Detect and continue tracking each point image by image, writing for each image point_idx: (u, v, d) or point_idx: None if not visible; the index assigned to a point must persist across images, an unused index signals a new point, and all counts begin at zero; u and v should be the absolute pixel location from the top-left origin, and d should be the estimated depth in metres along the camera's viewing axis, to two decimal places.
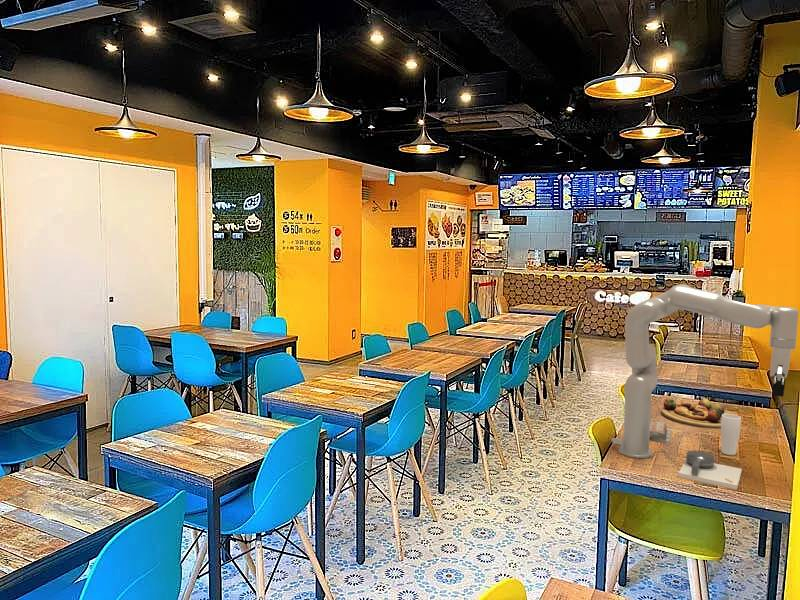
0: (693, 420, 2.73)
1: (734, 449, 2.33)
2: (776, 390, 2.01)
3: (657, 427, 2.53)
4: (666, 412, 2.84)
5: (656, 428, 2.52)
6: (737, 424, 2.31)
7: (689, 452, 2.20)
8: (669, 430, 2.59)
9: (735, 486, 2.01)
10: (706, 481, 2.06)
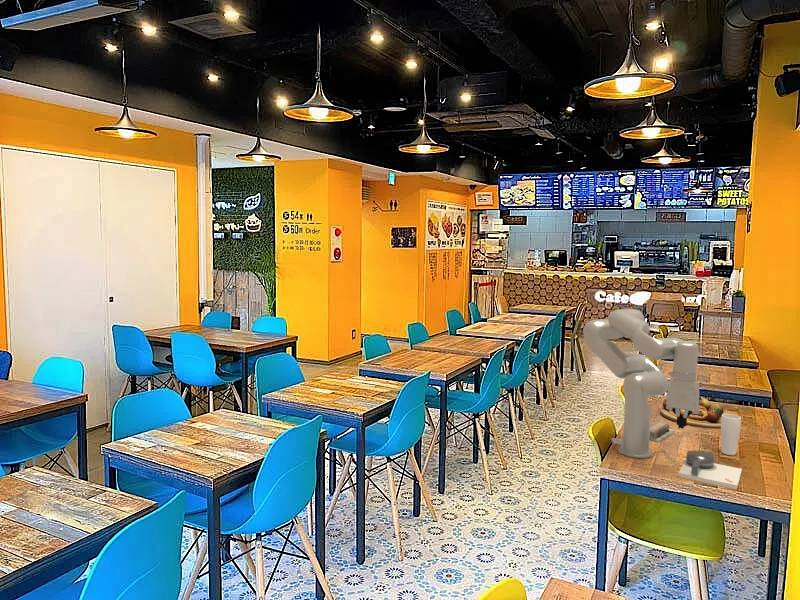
0: (692, 420, 2.73)
1: (734, 449, 2.33)
2: (685, 423, 2.12)
3: (653, 426, 2.54)
4: (665, 412, 2.84)
5: (651, 427, 2.53)
6: (737, 424, 2.31)
7: (689, 452, 2.20)
8: (671, 431, 2.58)
9: (735, 486, 2.01)
10: (706, 481, 2.06)
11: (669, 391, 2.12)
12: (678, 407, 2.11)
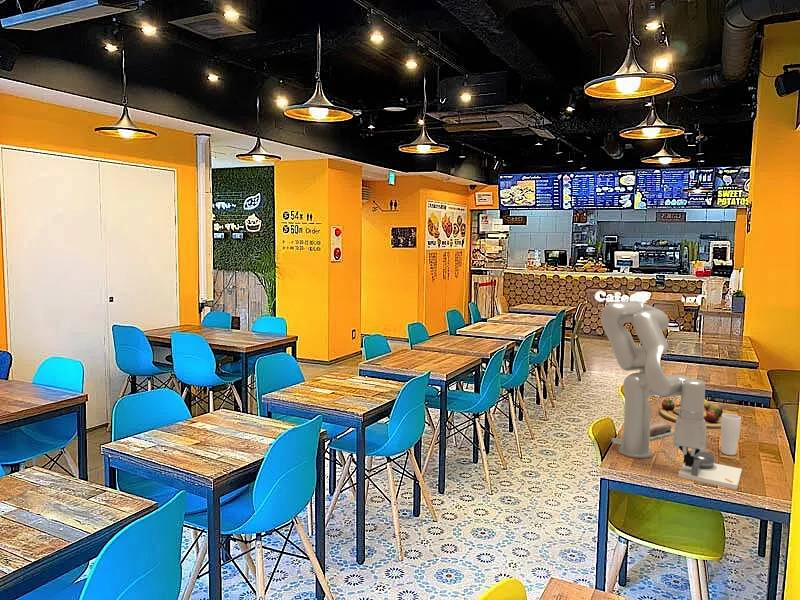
0: None
1: (734, 449, 2.33)
2: (693, 461, 2.12)
3: (651, 425, 2.55)
4: (664, 412, 2.83)
5: None
6: (737, 424, 2.31)
7: (689, 452, 2.20)
8: (672, 432, 2.56)
9: (735, 486, 2.01)
10: (706, 481, 2.06)
11: (676, 429, 2.12)
12: (685, 445, 2.11)
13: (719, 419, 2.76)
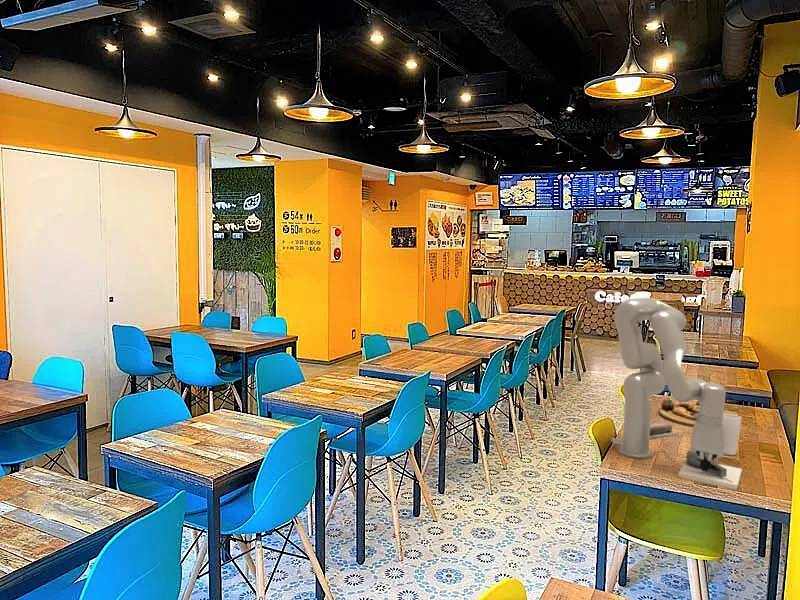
0: (691, 420, 2.72)
1: (734, 449, 2.33)
2: (709, 466, 2.09)
3: None
4: (664, 412, 2.83)
5: None
6: (737, 424, 2.31)
7: (691, 455, 2.18)
8: (672, 433, 2.56)
9: (735, 486, 2.01)
10: (706, 481, 2.06)
11: (694, 433, 2.09)
12: (703, 450, 2.08)
13: None
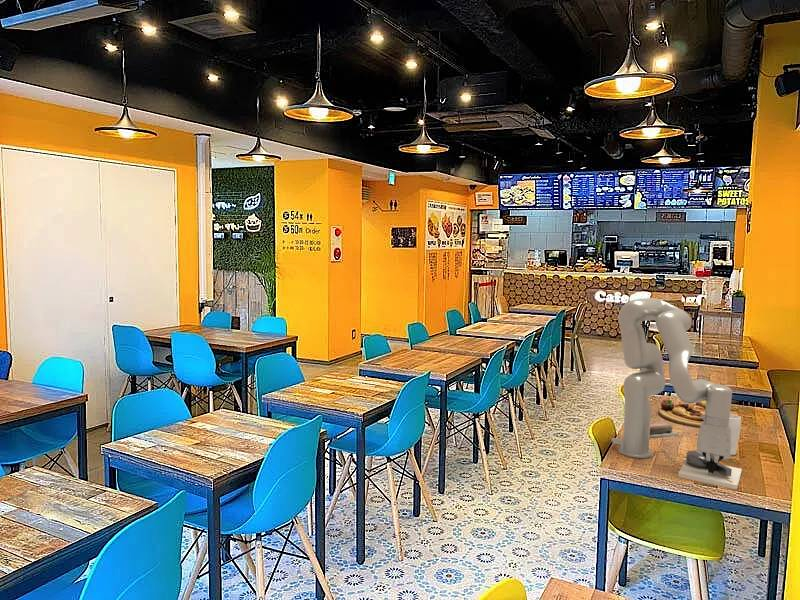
0: (691, 420, 2.72)
1: (734, 449, 2.33)
2: (716, 468, 2.08)
3: None
4: (664, 412, 2.83)
5: None
6: (737, 424, 2.31)
7: (692, 455, 2.17)
8: (672, 433, 2.55)
9: (735, 486, 2.01)
10: (706, 481, 2.06)
11: (700, 435, 2.08)
12: (709, 452, 2.07)
13: None
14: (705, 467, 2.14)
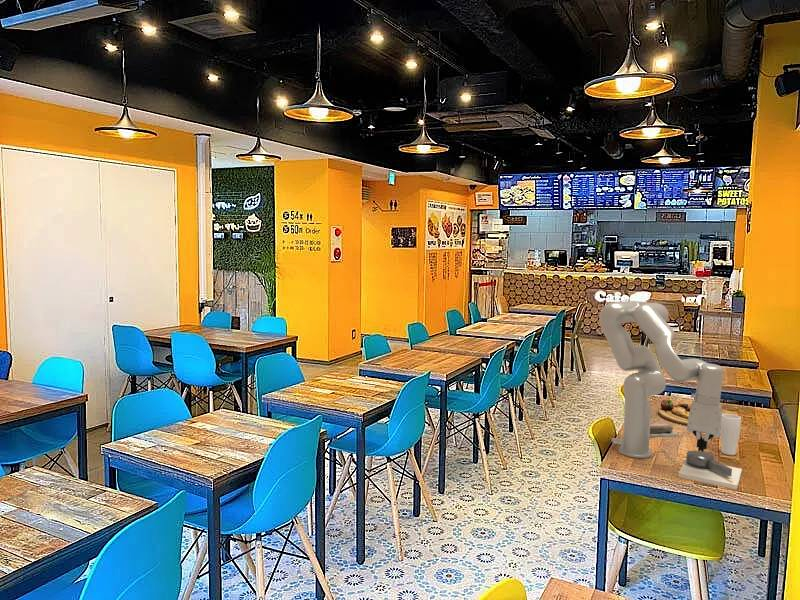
0: None
1: (734, 449, 2.33)
2: (706, 446, 2.10)
3: None
4: (663, 413, 2.83)
5: None
6: (737, 424, 2.31)
7: (692, 456, 2.17)
8: (672, 434, 2.54)
9: (735, 486, 2.01)
10: (706, 481, 2.06)
11: (691, 413, 2.09)
12: (699, 430, 2.08)
13: None
14: (705, 467, 2.14)
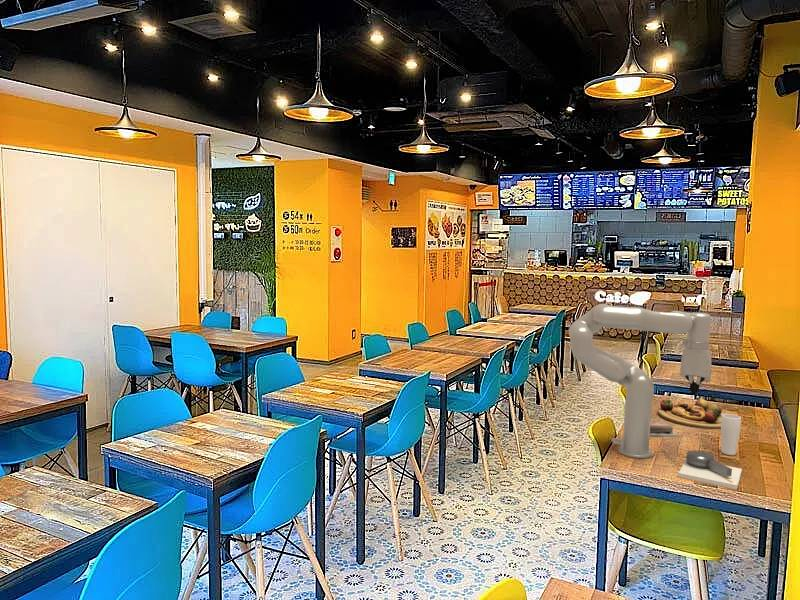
0: (690, 421, 2.72)
1: (734, 449, 2.33)
2: (698, 389, 2.26)
3: None
4: (663, 412, 2.83)
5: None
6: (737, 424, 2.31)
7: (692, 456, 2.17)
8: (671, 434, 2.54)
9: (735, 486, 2.01)
10: (706, 481, 2.06)
11: (683, 359, 2.26)
12: (691, 374, 2.25)
13: (717, 419, 2.75)
14: (705, 467, 2.14)
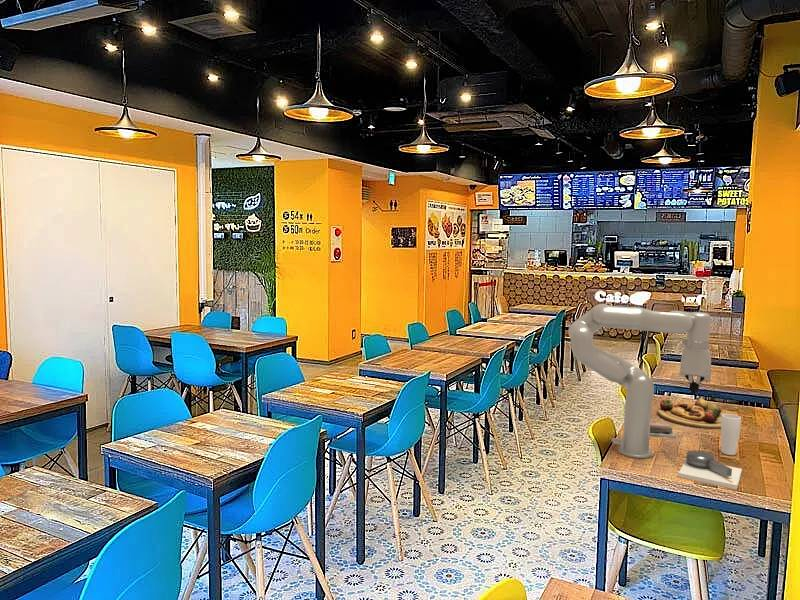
0: (690, 421, 2.72)
1: (734, 449, 2.33)
2: (698, 389, 2.27)
3: None
4: (662, 413, 2.83)
5: None
6: (737, 424, 2.31)
7: (692, 456, 2.17)
8: (670, 434, 2.53)
9: (735, 486, 2.01)
10: (706, 481, 2.06)
11: (683, 359, 2.27)
12: (691, 373, 2.25)
13: (717, 419, 2.75)
14: (705, 467, 2.14)
